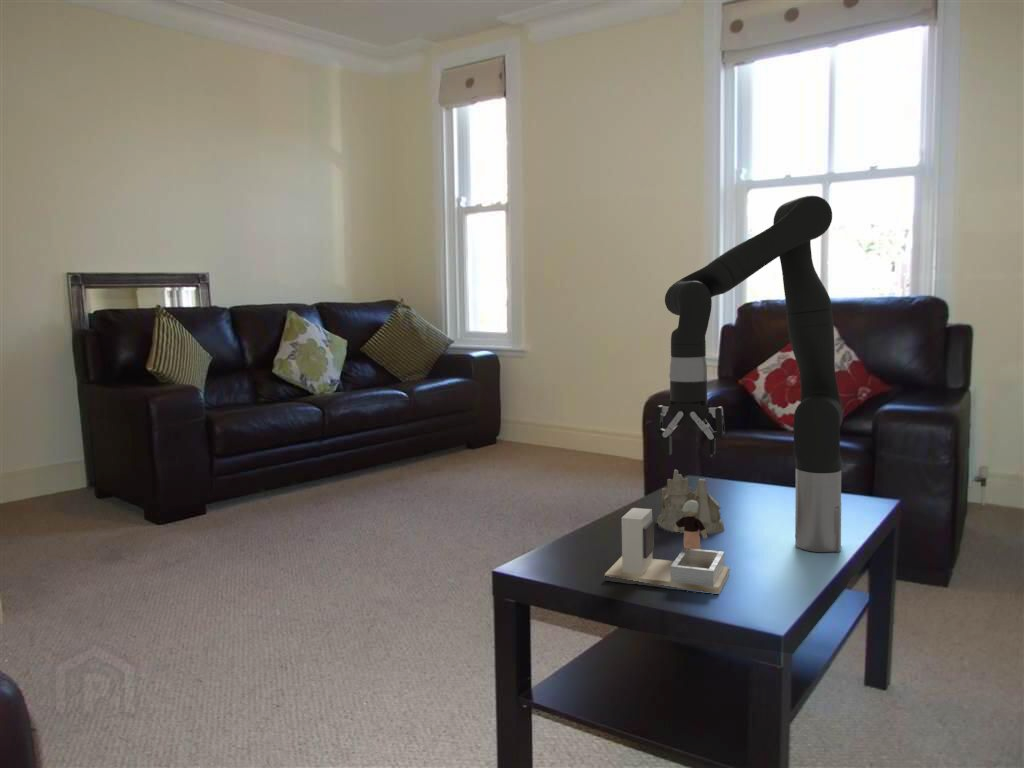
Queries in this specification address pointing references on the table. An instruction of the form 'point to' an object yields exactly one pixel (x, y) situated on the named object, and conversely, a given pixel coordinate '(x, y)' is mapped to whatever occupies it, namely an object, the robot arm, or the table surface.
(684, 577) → the slot walls
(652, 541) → the white box with panel
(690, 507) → the grandmother figurine
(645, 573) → the cream base plate
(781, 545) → the table surface
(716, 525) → the beige jagged towered block
